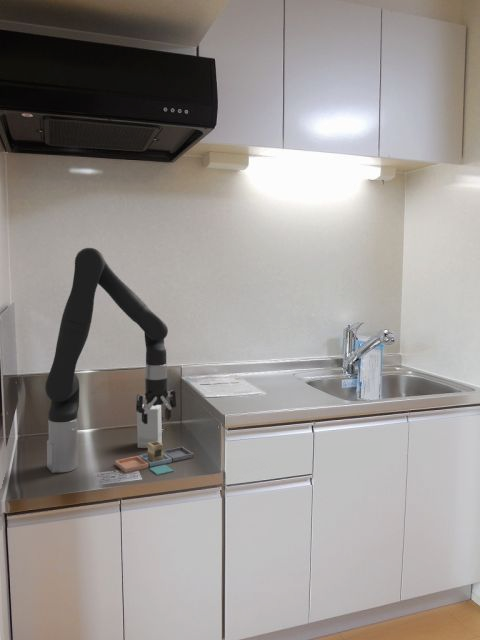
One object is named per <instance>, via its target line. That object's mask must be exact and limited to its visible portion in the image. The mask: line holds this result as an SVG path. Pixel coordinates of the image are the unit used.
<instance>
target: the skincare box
mask: <svg viewBox="0 0 480 640" xmlns="http://www.w3.org/2000/svg"><path fill="white" fill-rule="evenodd" d="M143 406H144V403H143ZM142 408H143V407H142ZM147 417H148V423H147V424H144V423H143V422H142V413H139V412H137V411H136V423H137V424H136V425H137V428H136V429H137V432H136V434H137V435H136V438H137V448H139V449H148V443H151V442H156V441H159V442H160V443H162V444H163V438H162V437H163V435H162V434H163V433H162V432H163V428H162V426H163V425H162V405H156V406H152V407H151V408H150V409H149V410H148V412H147Z"/></svg>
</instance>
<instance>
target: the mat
mask: <svg viewBox="0 0 480 640" xmlns="http://www.w3.org/2000/svg"><path fill="white" fill-rule="evenodd" d="M148 469H149V471H151V472H152V473H153V474H155V475H156V476H160V475H164V474H165V473H166V474H170V473H173V472H174V470H173V469H172V468H170V467H169V466H168V465H167V464H163V465H159V466H155V467H148Z"/></svg>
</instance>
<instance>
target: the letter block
mask: <svg viewBox="0 0 480 640" xmlns="http://www.w3.org/2000/svg"><path fill="white" fill-rule="evenodd" d="M163 450H164V444H163V442H162V443H160V442H159V441H156V442H151V443H148V448H147V454H148V460H149V461H151V462H156V461H160V460H163Z"/></svg>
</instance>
